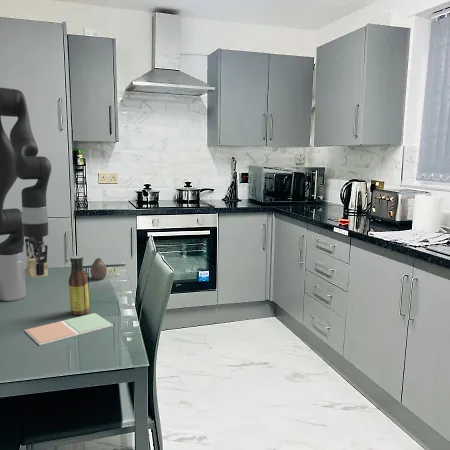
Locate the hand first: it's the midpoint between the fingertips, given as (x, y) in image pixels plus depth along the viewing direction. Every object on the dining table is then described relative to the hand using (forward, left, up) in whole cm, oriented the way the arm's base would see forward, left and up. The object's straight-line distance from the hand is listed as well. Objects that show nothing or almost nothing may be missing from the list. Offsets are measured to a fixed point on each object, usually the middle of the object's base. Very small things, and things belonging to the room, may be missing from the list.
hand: (37, 272), depth 143 cm
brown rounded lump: (-32, +36, -16) cm, 51 cm away
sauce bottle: (+1, +13, -16) cm, 21 cm away
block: (0, 0, -1) cm, 1 cm away
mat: (+12, +5, -16) cm, 21 cm away
